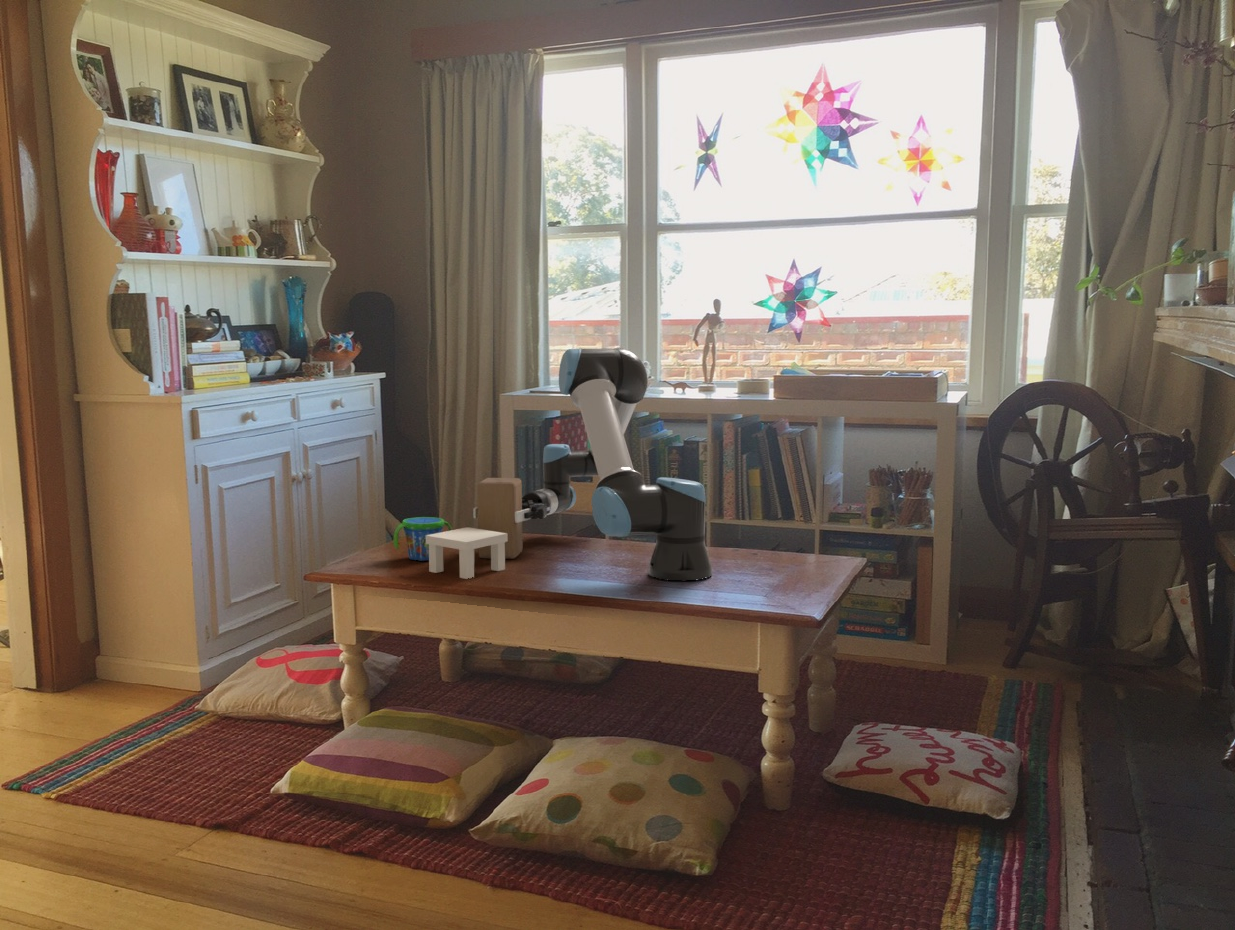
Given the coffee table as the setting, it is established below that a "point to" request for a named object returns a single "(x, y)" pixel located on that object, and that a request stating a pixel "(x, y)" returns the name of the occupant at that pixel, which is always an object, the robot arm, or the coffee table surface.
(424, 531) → the snack cup
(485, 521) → the block
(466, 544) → the footstool
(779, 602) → the coffee table surface
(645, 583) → the coffee table surface
